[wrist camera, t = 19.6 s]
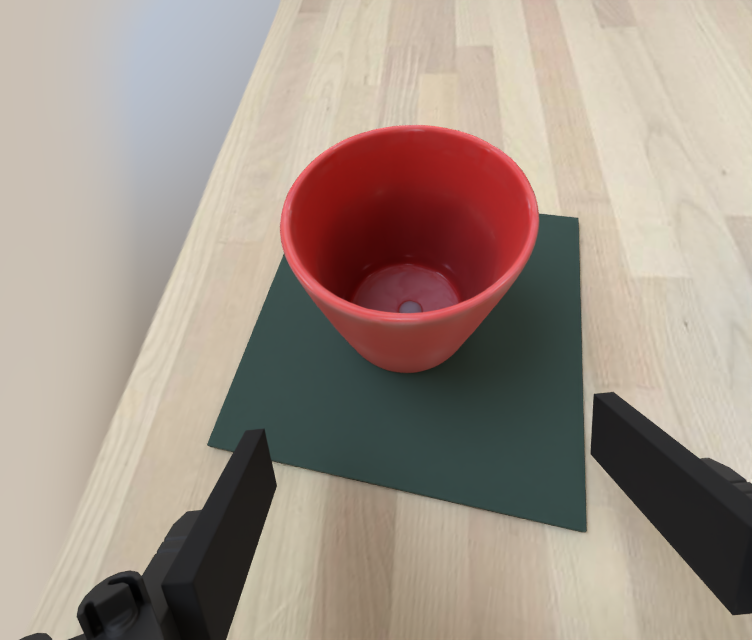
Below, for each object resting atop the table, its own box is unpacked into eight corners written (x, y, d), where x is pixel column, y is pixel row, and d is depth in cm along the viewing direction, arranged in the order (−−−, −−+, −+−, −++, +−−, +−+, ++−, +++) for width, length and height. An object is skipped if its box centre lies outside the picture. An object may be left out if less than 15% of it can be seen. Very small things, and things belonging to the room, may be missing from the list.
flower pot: (531, 340, 23) (604, 231, 15) (373, 435, 21) (352, 372, 13) (432, 226, 28) (444, 94, 20) (294, 296, 26) (241, 182, 18)
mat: (210, 446, 22) (206, 445, 22) (311, 193, 31) (310, 188, 31) (583, 532, 19) (587, 532, 19) (575, 222, 28) (578, 217, 28)
